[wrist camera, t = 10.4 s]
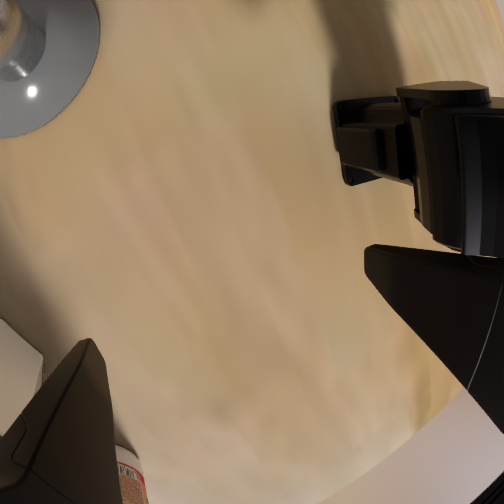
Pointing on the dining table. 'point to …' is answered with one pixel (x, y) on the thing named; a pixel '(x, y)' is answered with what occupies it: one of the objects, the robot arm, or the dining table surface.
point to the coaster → (52, 65)
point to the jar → (16, 375)
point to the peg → (18, 42)
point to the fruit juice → (130, 477)
